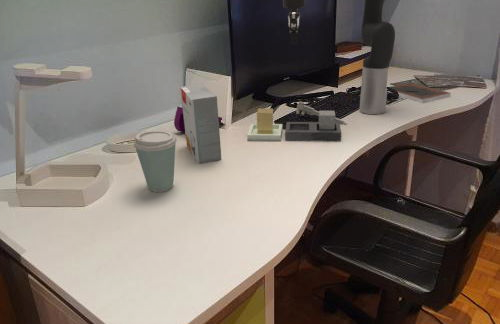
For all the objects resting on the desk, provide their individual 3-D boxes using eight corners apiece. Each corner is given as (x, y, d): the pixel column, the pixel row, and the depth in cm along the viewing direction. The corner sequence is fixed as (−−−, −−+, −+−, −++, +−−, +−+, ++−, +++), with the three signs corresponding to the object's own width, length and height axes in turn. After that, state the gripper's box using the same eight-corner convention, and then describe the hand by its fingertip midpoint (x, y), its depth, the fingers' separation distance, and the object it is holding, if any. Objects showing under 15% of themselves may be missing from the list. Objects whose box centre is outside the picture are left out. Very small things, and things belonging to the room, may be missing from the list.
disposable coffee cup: (165, 174, 117) (158, 124, 111) (190, 185, 110) (184, 132, 104) (133, 188, 110) (123, 135, 103) (158, 201, 103) (150, 145, 97)
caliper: (296, 116, 159) (296, 101, 156) (297, 116, 160) (297, 100, 157) (346, 125, 148) (347, 109, 145) (347, 125, 149) (348, 108, 146)
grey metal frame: (338, 130, 143) (339, 122, 142) (340, 141, 134) (341, 132, 133) (286, 130, 146) (286, 121, 144) (285, 140, 137) (285, 132, 135)
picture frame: (383, 93, 186) (422, 104, 168) (383, 87, 185) (422, 98, 167) (410, 87, 193) (449, 98, 175) (410, 82, 191) (450, 92, 174)
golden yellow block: (273, 130, 144) (273, 108, 140) (272, 135, 139) (271, 113, 136) (259, 130, 144) (258, 108, 141) (257, 135, 140) (256, 113, 136)
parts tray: (282, 129, 146) (282, 124, 145) (280, 141, 136) (280, 135, 135) (251, 129, 148) (251, 123, 147) (247, 140, 138) (247, 135, 137)
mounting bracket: (206, 136, 159) (171, 130, 144) (211, 115, 158) (177, 106, 144) (224, 142, 153) (190, 135, 139) (229, 119, 153) (196, 110, 138)
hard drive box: (186, 146, 135) (179, 86, 127) (208, 142, 138) (203, 83, 129) (197, 164, 122) (191, 98, 114) (222, 160, 124) (218, 95, 116)
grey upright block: (333, 133, 141) (334, 110, 138) (334, 138, 137) (335, 115, 133) (318, 133, 142) (319, 110, 139) (318, 138, 137) (319, 115, 134)
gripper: (305, -8, 131) (304, 45, 137) (305, -10, 143) (304, 38, 150) (281, -7, 132) (282, 45, 138) (284, -9, 144) (284, 39, 151)
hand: (293, 42), depth 144 cm, fingers open, 8 cm apart
